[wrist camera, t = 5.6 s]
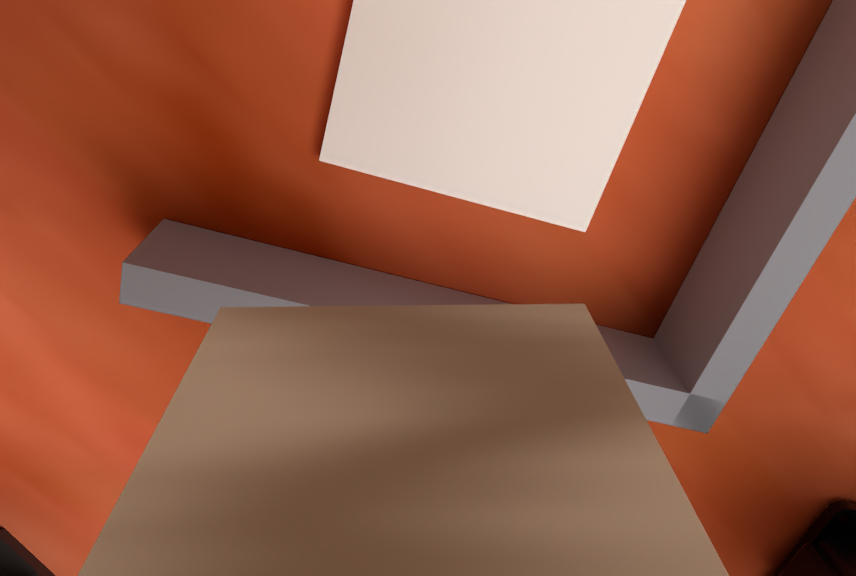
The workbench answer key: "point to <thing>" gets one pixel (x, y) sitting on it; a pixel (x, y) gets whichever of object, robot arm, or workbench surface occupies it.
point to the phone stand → (18, 558)
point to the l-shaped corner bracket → (548, 175)
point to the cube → (403, 453)
